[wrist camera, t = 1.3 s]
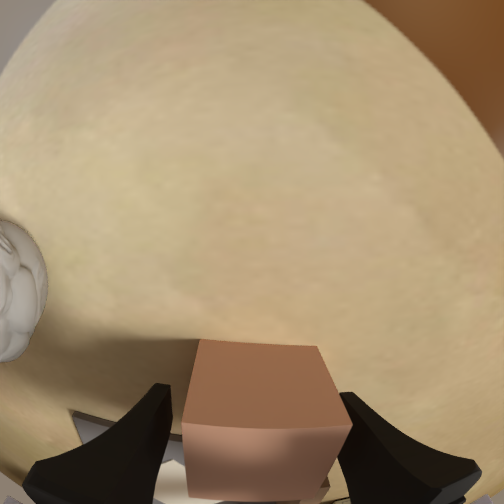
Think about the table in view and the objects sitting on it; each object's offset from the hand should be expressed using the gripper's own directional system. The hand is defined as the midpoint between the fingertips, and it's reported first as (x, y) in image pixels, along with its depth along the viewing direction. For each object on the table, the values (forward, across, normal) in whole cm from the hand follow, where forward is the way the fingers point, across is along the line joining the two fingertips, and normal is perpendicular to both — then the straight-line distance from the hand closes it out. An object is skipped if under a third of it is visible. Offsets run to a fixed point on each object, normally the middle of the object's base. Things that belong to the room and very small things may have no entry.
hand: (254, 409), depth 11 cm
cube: (+2, 0, 0) cm, 2 cm away
